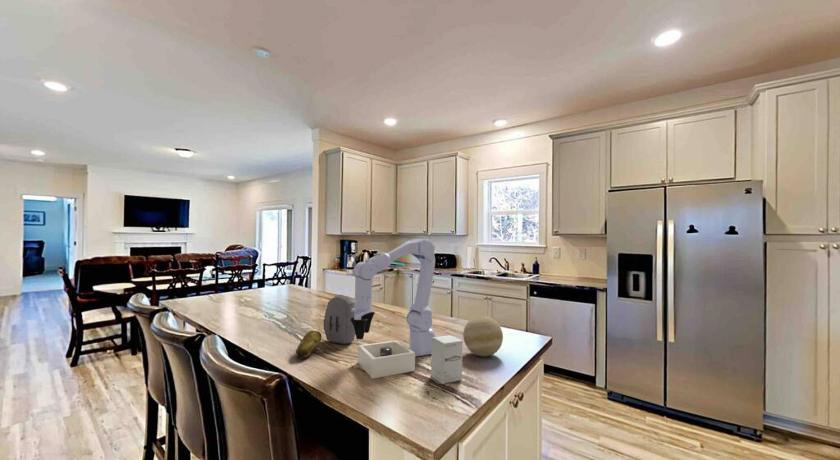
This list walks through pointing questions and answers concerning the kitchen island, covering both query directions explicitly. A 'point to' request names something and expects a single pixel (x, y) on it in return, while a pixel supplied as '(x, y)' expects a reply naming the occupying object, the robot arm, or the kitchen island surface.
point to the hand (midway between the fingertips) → (362, 335)
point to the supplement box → (446, 359)
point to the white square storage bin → (386, 359)
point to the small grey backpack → (339, 320)
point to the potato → (308, 344)
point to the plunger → (385, 351)
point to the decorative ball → (483, 336)
